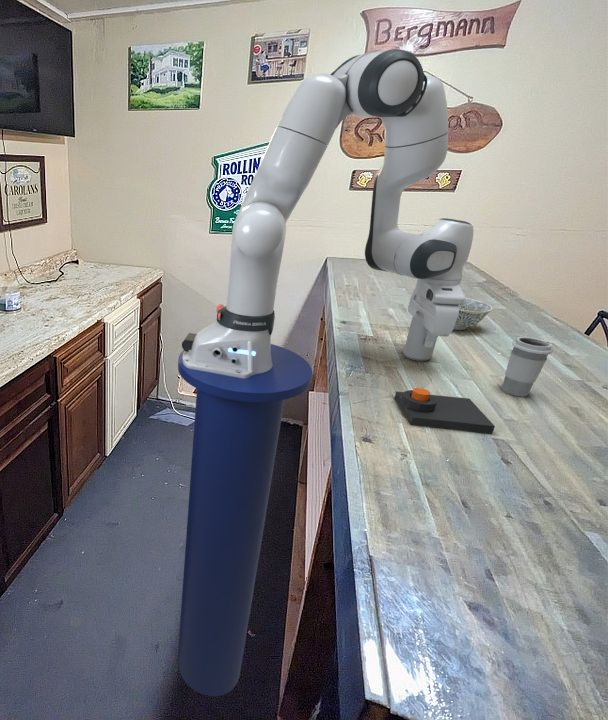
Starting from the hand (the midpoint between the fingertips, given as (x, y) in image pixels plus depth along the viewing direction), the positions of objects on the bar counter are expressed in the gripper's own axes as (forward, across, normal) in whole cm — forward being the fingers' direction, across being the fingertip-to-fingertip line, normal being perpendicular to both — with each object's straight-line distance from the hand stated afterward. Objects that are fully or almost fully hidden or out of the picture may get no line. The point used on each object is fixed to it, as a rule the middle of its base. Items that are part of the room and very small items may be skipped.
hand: (421, 340), depth 117 cm
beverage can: (+5, 0, 0) cm, 5 cm away
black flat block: (+5, +31, -5) cm, 32 cm away
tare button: (+2, +31, -9) cm, 32 cm away
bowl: (+5, -29, +19) cm, 35 cm away
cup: (+5, +16, +15) cm, 22 cm away
